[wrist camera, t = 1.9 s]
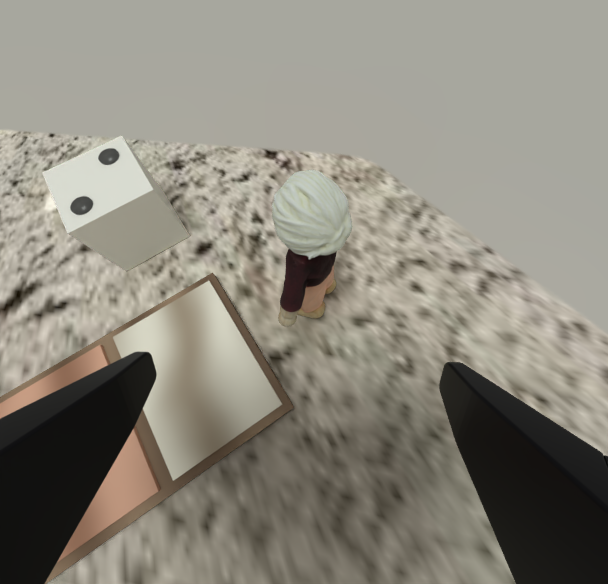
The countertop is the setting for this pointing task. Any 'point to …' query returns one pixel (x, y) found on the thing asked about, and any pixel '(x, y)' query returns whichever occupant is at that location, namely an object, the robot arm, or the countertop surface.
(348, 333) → the countertop surface
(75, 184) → the white die
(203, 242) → the countertop surface
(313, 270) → the grandmother figurine
